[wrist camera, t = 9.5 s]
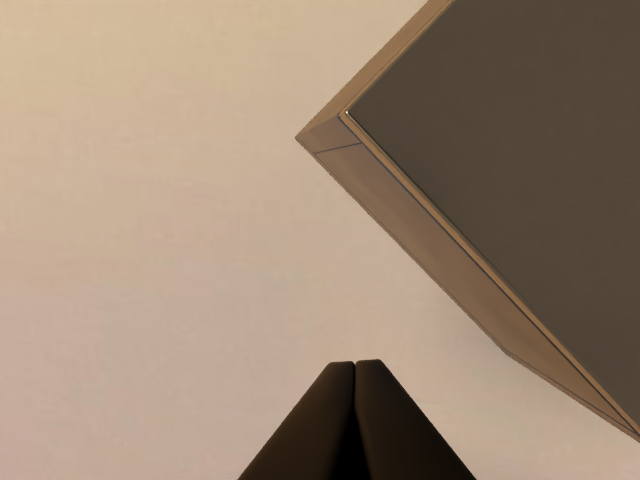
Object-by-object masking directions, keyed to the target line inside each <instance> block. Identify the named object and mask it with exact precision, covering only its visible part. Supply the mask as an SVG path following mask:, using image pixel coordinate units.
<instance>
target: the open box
mask: <svg viewBox="0 0 640 480" xmlns="http://www.w3.org/2000/svg"><path fill="white" fill-rule="evenodd" d="M449 1H450V0H429V1H428V2H427V3H426V4H425V5H424V6H423V7H422V8H421V9H420V10H419V11H418V12H417V13H416V14H415V15H414V16H413V17H412V18H411V19H410V20H409V21H408V22H407V23H406V24H405V25H404V26H403V27H402V28H401V29H400V30H399V31H398V32H397V33H396V34H395V36H394V37H393V38H392V39H391V40H390V41H389V42H388V43H387V44H386V45H385V46H384V47H383V48H382V49H381V50H380V51H379V52H378V53H377V54H376V55H375V56H374V57H373V58H372V59H371V60H370V61H369V62H368V63H367V64H366V65H365V66H364V67H363V68H362V69H361V70H360V71H359V72H358V73H357V74H356V75H355V76H354V77H353V78H352V79H351V80H350V81H349V82H348V83H347V84H346V85H345V86H344V87H343V88H342V89H341V91H340V92H339V93H338V94H337V95H336V96H335V97H334V98H333V99H332V100H331V101H330V102H329V103H328V104H327V105H326V106H325V107H324V108H323V109H322V110H321V111H320V112H319V113H318V114H317V115H316V116H315V117H314V118H313V119H312V120H311V121H310V122H309V123H308V124H307V125H306V126H305V127H304V128H303V129H302V130H301V131H300V132H299V133H298V134H297V135H296V137H295V139H296V140H297V141H298V142H299V143H300V144H301V145H302V146H303V147H304V148H305V149H306V150H307V151H308V152H309V153H310V154H311V155H312V156H313V157H314V158H315V160H316V161H317V162H318V163H319V164H320V165H321V166H322V167H323V168H324V169H325V170H326V171H327V172H328V173H329V174H330V175H331V176H332V177H333V178H334V179H335V180H336V181H337V182H338V183H339V184H340V185H341V186H342V187H343V188H344V189H345V190H346V191H347V192H348V193H349V194H350V195H351V196H352V197H353V198H354V199H355V200H356V201H357V202H358V203H359V204H360V206H361V207H362V208H363V209H364V210H365V211H366V212H367V213H368V214H369V215H370V216H371V217H372V218H373V219H374V220H375V221H376V222H377V223H378V224H379V225H380V226H381V227H382V228H383V229H384V230H385V231H386V232H387V233H388V234H389V235H390V236H391V237H392V238H393V239H394V240H395V241H396V242H397V243H398V244H399V245H400V246H401V247H402V248H403V249H404V250H405V251H406V253H407V254H408V255H409V256H410V257H411V258H412V259H413V260H414V261H415V262H416V263H417V264H418V265H419V266H420V267H421V268H422V269H423V270H424V271H425V272H426V273H427V274H428V275H429V276H430V277H431V278H432V279H433V280H434V281H435V282H436V283H437V284H438V285H439V286H440V287H441V288H442V289H443V290H444V291H445V292H446V293H447V294H448V295H449V296H450V297H451V299H452V300H453V301H454V302H455V303H456V304H457V305H458V306H459V307H460V308H461V309H462V310H463V311H464V312H465V313H466V314H467V315H468V316H469V317H470V318H471V319H472V320H473V321H474V322H475V323H476V324H477V325H478V326H479V327H480V328H481V329H482V330H483V331H484V332H485V333H486V334H487V335H488V336H489V337H490V338H491V339H492V340H493V341H494V342H495V343H496V344H497V346H498V347H499V348H500V349H501V350H502V351H503V352H504V353H505V354H506V355H507V356H509V357H510V358H512V359H514V360H515V361H517V362H518V363H520V364H521V365H523V366H524V367H526V368H527V369H529V370H530V371H532V372H533V373H535V374H536V375H538V376H539V377H541V378H542V379H544V380H545V381H547V382H548V383H550V384H551V385H553V386H555V387H556V388H558V389H559V390H561V391H562V392H564V393H565V394H567V395H568V396H570V397H571V398H573V399H574V400H576V401H577V402H579V403H580V404H582V405H583V406H585V407H586V408H588V409H589V410H591V411H592V412H594V413H595V414H597V415H598V416H600V417H601V418H603V419H604V420H606V421H607V422H609V423H610V424H612V425H613V426H615V427H616V428H618V429H619V430H621V431H622V432H624V433H625V434H627V435H629V436H630V437H632V438H633V439H635V440H636V441H638V442H639V443H640V434H639V433H638V432H637V431H636V430H635V429H634V428H633V427H632V426H631V425H630V424H629V423H628V422H627V420H626V419H625V418H624V417H623V416H622V415H621V414H620V413H619V412H618V411H617V410H616V409H615V408H614V407H613V406H612V405H611V404H610V403H609V401H608V400H607V399H606V398H605V397H604V396H603V395H602V394H601V393H600V392H599V391H598V390H597V389H596V388H595V387H594V386H593V385H592V384H591V382H590V381H589V380H588V379H587V378H586V377H585V376H584V375H583V374H582V373H581V372H580V371H579V370H578V369H577V368H576V367H575V366H574V365H573V363H572V362H571V361H570V360H569V359H568V358H567V357H566V356H565V355H564V354H563V353H562V352H561V351H560V350H559V349H558V348H557V347H556V346H555V344H554V343H553V342H552V341H551V340H550V339H549V338H548V337H547V336H546V335H545V334H544V333H543V332H542V331H541V330H540V329H539V328H538V327H537V325H536V324H535V323H534V322H533V321H532V320H531V319H530V318H529V317H528V316H527V315H526V314H525V313H524V312H523V311H522V310H521V309H520V308H519V306H518V305H517V304H516V303H515V302H514V301H513V300H512V299H511V298H510V297H509V296H508V295H507V294H506V293H505V292H504V291H503V290H502V289H501V287H500V286H499V285H498V284H497V283H496V282H495V281H494V280H493V279H492V278H491V277H490V276H489V275H488V274H487V273H486V272H485V271H484V269H483V268H482V267H481V266H480V265H479V264H478V263H477V262H476V261H475V260H474V259H473V258H472V257H471V256H470V255H469V254H468V253H467V252H466V250H465V249H464V248H463V247H462V246H461V245H460V244H459V243H458V242H457V241H456V240H455V239H454V238H453V237H452V236H451V235H450V234H449V233H448V231H447V230H446V229H445V228H444V227H443V226H442V225H441V224H440V223H439V222H438V221H437V220H436V219H435V218H434V217H433V216H432V215H431V214H430V212H429V211H428V210H427V209H426V208H425V207H424V206H423V205H422V204H421V203H420V202H419V201H418V200H417V199H416V198H415V197H414V196H413V195H412V193H411V192H410V191H409V190H408V189H407V188H406V187H405V186H404V185H403V184H402V183H401V182H400V181H399V180H398V179H397V178H396V177H395V176H394V174H393V173H392V172H391V171H390V170H389V169H388V168H387V167H386V166H385V165H384V164H383V163H382V162H381V161H380V160H379V159H378V158H377V157H376V155H375V154H374V153H373V152H372V151H371V150H370V149H369V148H368V147H367V146H366V145H365V144H364V143H363V142H362V141H361V140H360V139H359V138H358V136H357V135H356V134H355V133H354V132H353V131H352V130H351V129H350V128H349V127H348V126H347V125H346V124H345V123H344V122H343V121H342V120H341V119H340V116H339V114H340V112H341V111H342V110H343V109H344V108H345V107H346V106H347V105H348V104H349V103H350V102H351V101H352V99H353V98H354V97H355V96H356V95H357V94H358V93H359V92H360V91H361V90H362V89H363V88H364V87H365V86H366V85H367V84H368V83H369V82H370V81H371V80H372V79H373V78H374V77H375V76H376V75H377V74H378V73H379V72H380V71H381V70H382V69H383V68H384V67H385V66H386V65H387V64H388V63H389V62H390V61H391V60H392V59H393V58H394V57H395V56H396V55H397V54H398V53H399V52H400V51H401V49H402V48H403V47H404V46H405V45H406V44H407V43H408V42H409V41H410V40H411V39H412V38H413V37H414V36H415V35H416V34H417V33H418V32H419V31H420V30H421V29H422V28H423V27H424V26H425V25H426V24H427V23H428V22H429V21H430V20H431V19H432V18H433V17H434V16H435V15H436V14H437V13H438V12H439V11H440V10H441V9H442V8H443V7H444V6H445V5H446V4H447V3H448V2H449Z"/></svg>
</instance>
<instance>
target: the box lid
mask: <svg viewBox="0 0 640 480" xmlns="http://www.w3.org/2000/svg"><path fill="white" fill-rule="evenodd" d="M339 116H340V119H341V120H342V121H343V122H344V123H345V124H346V125H347V126H348V127H349V128H350V129H351V130H352V131H353V132H354V133H355V134H356V135H357V136H358V138H359V139H360V140H361V141H362V142H363V143H364V144H365V145H366V146H367V147H368V148H369V149H370V150H371V151H372V152H373V153H374V154H375V155H376V157H377V158H378V159H379V160H380V161H381V162H382V163H383V164H384V165H385V166H386V167H387V168H388V169H389V170H390V171H391V172H392V173H393V174H394V176H395V177H396V178H397V179H398V180H399V181H400V182H401V183H402V184H403V185H404V186H405V187H406V188H407V189H408V190H409V191H410V192H411V193H412V195H413V196H414V197H415V198H416V199H417V200H418V201H419V202H420V203H421V204H422V205H423V206H424V207H425V208H426V209H427V210H428V211H429V212H430V214H431V215H432V216H433V217H434V218H435V219H436V220H437V221H438V222H439V223H440V224H441V225H442V226H443V227H444V228H445V229H446V230H447V231H448V233H449V234H450V235H451V236H452V237H453V238H454V239H455V240H456V241H457V242H458V243H459V244H460V245H461V246H462V247H463V248H464V249H465V250H466V252H467V253H468V254H469V255H470V256H471V257H472V258H473V259H474V260H475V261H476V262H477V263H478V264H479V265H480V266H481V267H482V268H483V269H484V271H485V272H486V273H487V274H488V275H489V276H490V277H491V278H492V279H493V280H494V281H495V282H496V283H497V284H498V285H499V286H500V287H501V289H502V290H503V291H504V292H505V293H506V294H507V295H508V296H509V297H510V298H511V299H512V300H513V301H514V302H515V303H516V304H517V305H518V306H519V308H520V309H521V310H522V311H523V312H524V313H525V314H526V315H527V316H528V317H529V318H530V319H531V320H532V321H533V322H534V323H535V324H536V325H537V327H538V328H539V329H540V330H541V331H542V332H543V333H544V334H545V335H546V336H547V337H548V338H549V339H550V340H551V341H552V342H553V343H554V344H555V346H556V347H557V348H558V349H559V350H560V351H561V352H562V353H563V354H564V355H565V356H566V357H567V358H568V359H569V360H570V361H571V362H572V363H573V365H574V366H575V367H576V368H577V369H578V370H579V371H580V372H581V373H582V374H583V375H584V376H585V377H586V378H587V379H588V380H589V381H590V382H591V384H592V385H593V386H594V387H595V388H596V389H597V390H598V391H599V392H600V393H601V394H602V395H603V396H604V397H605V398H606V399H607V400H608V401H609V403H610V404H611V405H612V406H613V407H614V408H615V409H616V410H617V411H618V412H619V413H620V414H621V415H622V416H623V417H624V418H625V419H626V420H627V422H628V423H629V424H630V425H631V426H632V427H633V428H634V429H635V430H636V431H637V432H638V433H639V434H640V0H450V1H449V2H448V3H447V4H446V5H445V6H444V7H443V8H442V9H441V10H440V11H439V12H438V13H437V14H436V15H435V16H434V17H433V18H432V19H431V20H430V21H429V22H428V23H427V24H426V25H425V26H424V27H423V28H422V29H421V30H420V31H419V32H418V33H417V34H416V35H415V36H414V37H413V38H412V39H411V40H410V41H409V42H408V43H407V44H406V45H405V46H404V47H403V48H402V49H401V51H400V52H399V53H398V54H397V55H396V56H395V57H394V58H393V59H392V60H391V61H390V62H389V63H388V64H387V65H386V66H385V67H384V68H383V69H382V70H381V71H380V72H379V73H378V74H377V75H376V76H375V77H374V78H373V79H372V80H371V81H370V82H369V83H368V84H367V85H366V86H365V87H364V88H363V89H362V90H361V91H360V92H359V93H358V94H357V95H356V96H355V97H354V98H353V99H352V101H351V102H350V103H349V104H348V105H347V106H346V107H345V108H344V109H343V110H342V111H341V112H340V114H339Z"/></svg>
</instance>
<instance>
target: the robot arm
mask: <svg viewBox="0 0 640 480" xmlns="http://www.w3.org/2000/svg"><path fill="white" fill-rule="evenodd" d="M238 480H476V478H475V477H474V476H473V475H472V473H471V472H470V471H469V470H468V468H467V467H466V466H465V465H464V463H463V462H462V461H461V460H460V458H459V457H458V456H457V455H456V453H455V452H454V451H453V450H452V448H451V447H450V446H449V445H448V443H447V442H446V441H445V439H444V438H443V437H442V436H441V434H440V433H439V432H438V431H437V429H436V428H435V427H434V426H433V424H432V423H431V422H430V421H429V419H428V418H427V417H426V416H425V414H424V413H423V412H422V411H421V409H420V408H419V407H418V406H417V404H416V403H415V402H414V401H413V399H412V398H411V397H410V396H409V394H408V393H407V392H406V391H405V389H404V388H403V387H402V386H401V384H400V383H399V382H398V381H397V379H396V378H395V377H394V376H393V374H392V373H391V372H390V371H389V369H388V368H387V367H386V366H385V364H384V363H383V362H382V361H381V360H379V359H375V360H361V361H358V362H356V364H354V363H353V362H352V361H345V362H331V363H329V364H328V365H327V366H326V367H325V369H324V370H323V371H322V372H321V374H320V375H319V376H318V378H317V379H316V380H315V381H314V383H313V384H312V385H311V387H310V388H309V389H308V390H307V392H306V393H305V394H304V395H303V397H302V398H301V399H300V401H299V402H298V403H297V404H296V406H295V407H294V408H293V409H292V411H291V412H290V413H289V415H288V416H287V417H286V418H285V420H284V421H283V422H282V423H281V425H280V426H279V427H278V429H277V430H276V431H275V432H274V434H273V435H272V436H271V438H270V439H269V440H268V441H267V443H266V444H265V445H264V446H263V448H262V449H261V450H260V452H259V453H258V454H257V455H256V457H255V458H254V459H253V460H252V462H251V463H250V464H249V466H248V467H247V468H246V469H245V471H244V472H243V473H242V474H241V476H240V477H239V478H238Z"/></svg>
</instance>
